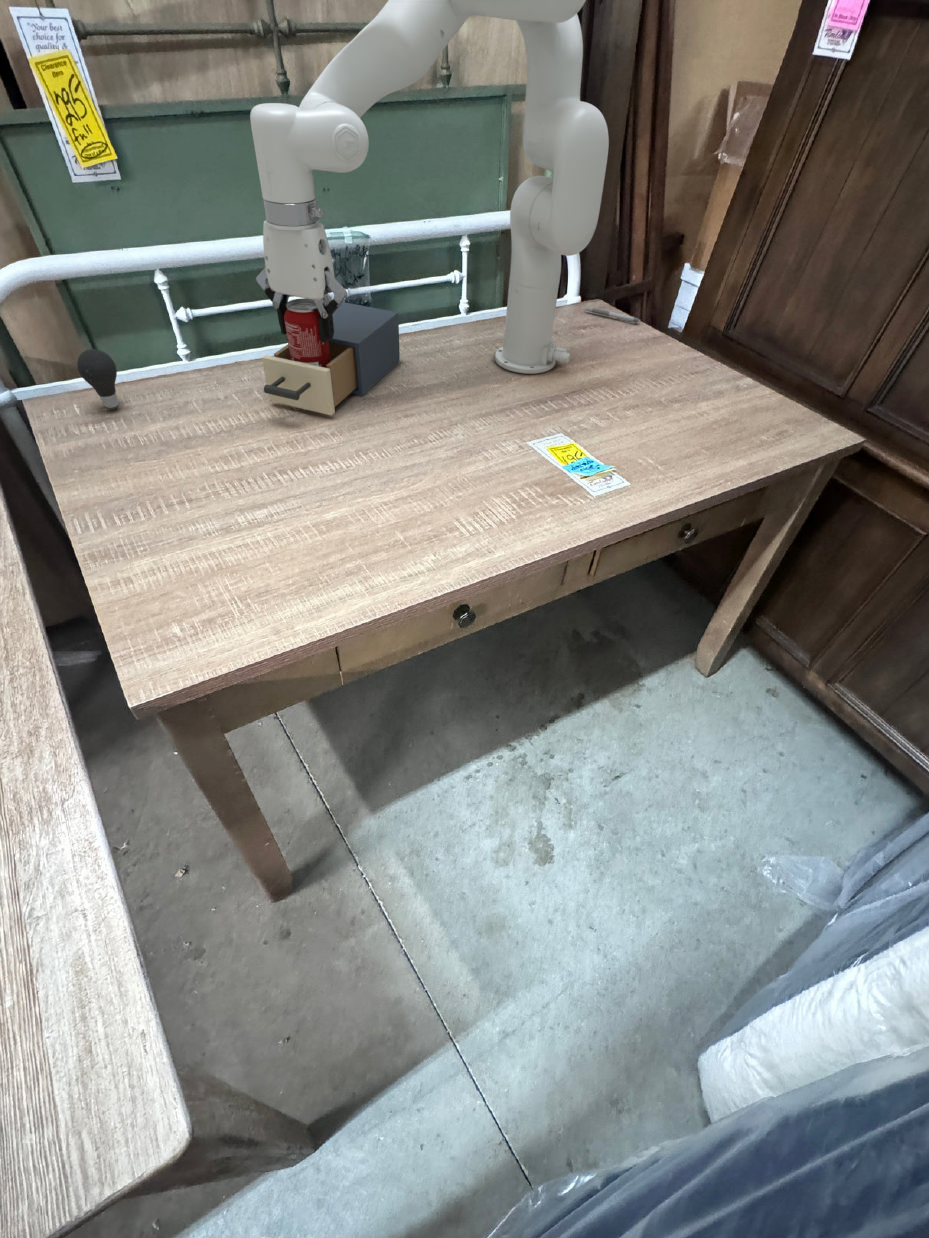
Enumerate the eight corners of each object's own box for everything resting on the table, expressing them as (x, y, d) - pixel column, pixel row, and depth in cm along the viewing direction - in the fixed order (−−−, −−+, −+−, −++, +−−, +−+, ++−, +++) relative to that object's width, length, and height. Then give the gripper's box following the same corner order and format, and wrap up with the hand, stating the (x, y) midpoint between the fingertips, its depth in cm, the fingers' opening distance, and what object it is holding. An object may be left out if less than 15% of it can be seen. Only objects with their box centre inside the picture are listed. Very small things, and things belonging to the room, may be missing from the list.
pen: (638, 325, 145) (640, 319, 144) (583, 312, 149) (584, 306, 148) (639, 324, 145) (641, 318, 144) (584, 311, 149) (585, 305, 148)
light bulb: (94, 403, 108) (71, 345, 100) (129, 398, 109) (108, 341, 102) (95, 418, 104) (70, 359, 97) (131, 413, 106) (109, 355, 99)
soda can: (324, 387, 106) (315, 314, 97) (287, 381, 107) (275, 309, 98) (337, 370, 111) (330, 299, 102) (302, 365, 111) (291, 295, 103)
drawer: (316, 429, 103) (310, 384, 97) (253, 413, 106) (243, 369, 100) (371, 379, 117) (369, 337, 111) (314, 367, 119) (308, 325, 114)
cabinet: (362, 396, 114) (358, 343, 107) (298, 381, 117) (290, 329, 110) (399, 362, 125) (398, 312, 118) (340, 349, 128) (335, 300, 121)
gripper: (355, 215, 92) (363, 337, 104) (255, 199, 95) (275, 319, 108) (330, 226, 87) (342, 353, 99) (225, 209, 90) (250, 334, 103)
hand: (307, 334), depth 104 cm, fingers closed on soda can, 6 cm apart
